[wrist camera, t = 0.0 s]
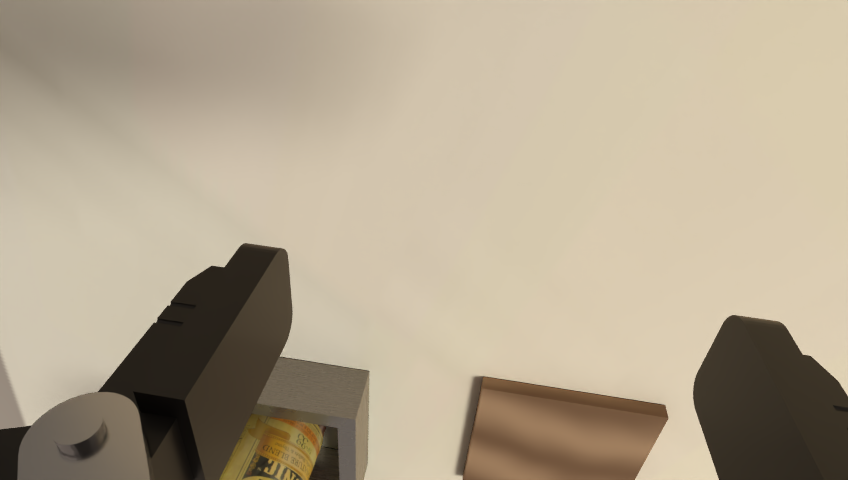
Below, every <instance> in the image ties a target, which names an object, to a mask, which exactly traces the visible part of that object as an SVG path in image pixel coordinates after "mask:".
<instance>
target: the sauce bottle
mask: <svg viewBox="0 0 848 480" xmlns="http://www.w3.org/2000/svg"><path fill="white" fill-rule="evenodd" d="M325 429H326V426H323V425H317V424H311V423H305V422H299V421H293V420H287V419H281V418H275V417H269V416H263V415H257V414H251V416H250V418H249V420H248V422H247V424H246V426H245V428H244V430H243V432H242V434H241V436H240V438H239V440H238V442H237V444H236V446H235V448H234V450H233V453H232V455H231V457H230V459H229V461H228V463H227V465H226V467H225V469H224V471H223V473H222V475H221V477H220V479H219V480H309V478H310V475H311V472H312V470H313V467H314V464H315V461H316V459H317V456H318V453H319V451H320V448H321V446H322V442H323V435H324V432H325Z"/></svg>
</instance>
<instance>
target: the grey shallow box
mask: <svg viewBox="0 0 848 480" xmlns="http://www.w3.org/2000/svg"><path fill="white" fill-rule="evenodd" d="M252 414H257V415H263V416H269V417H275V418H281V419H287V420H293V421H299V422H305V423H311V424H317V425H323V426H329V427H335V428H338V450H336V449H330V448H324V447H321V448H320V451H319V453H318V456H317V459H316V461H315V464H314V467H313V470H312V472H311V475H310V478H309V480H364V476H365V472H366V468H367V464H368V416H369V371H364V370H358V369H351V368H345V367H339V366H333V365H326V364H320V363H314V362H308V361H301V360H295V359H289V358H282V357H279V358H278V360H277V362H276V364H275V367H274V369H273V371H272V373H271V375H270V377H269V379H268V381H267V383H266V385H265V387H264V389H263V391H262V393H261V395H260V397H259V399H258V401H257V403H256V405H255V407H254V410H253V412H252Z"/></svg>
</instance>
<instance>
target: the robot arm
mask: <svg viewBox="0 0 848 480" xmlns="http://www.w3.org/2000/svg"><path fill="white" fill-rule="evenodd" d="M157 319H158V320H157V323H153V324H152V326H151V327H150V328H149V329H148V331H147V332H146V333H145V334H144V336H143V337H142V338H141V339H140V341H139V342H138V343H137V344H136V346H135V347H134V348H133V349H132V351H131V352H130V353H129V354H128V355H127V357H126V358H125V359H124V360H123V362H122V363H121V364H120V365H119V367H118V368H117V369H116V370H115V372H114V373H113V374H112V375H111V377H110V378H109V379H108V380H107V382H106V383H105V384H104V385H103V387H102V388H101V389H100V390H99V391H98V392H95V393H88V394H84V395H80V396H77V397H74V398H71V399H69V400H67V401H65V402H62V403H60V404H58V405H57V406H55V407H53V408H52V409H50V410H49V411H48V412H46V413H45V414H44V415H42V416H41V417H40V418H39V419H38V420H37V421H36V422H35V423H34V424H33V425H32V426H26V427H18V428H9V429H1V430H0V480H219V479H220V477H221V475H222V473H223V471H224V469H225V467H226V465H227V463H228V461H229V459H230V457H231V455H232V453H233V450H234V448H235V446H236V444H237V442H238V440H239V438H240V436H241V434H242V432H243V430H244V428H245V426H246V424H247V422H248V420H249V418H250V416H251V414H252V412H253V410H254V407H255V405H256V403H257V401H258V399H259V397H260V395H261V393H262V391H263V389H264V387H265V385H266V383H267V381H268V379H269V377H270V375H271V373H272V371H273V369H274V367H275V364H276V362H277V360H278V358H279V356H280V354H281V352H282V350H283V348H284V346H285V344H286V342H287V339H288V336H289V333H290V328H291V323H292V299H291V287H290V275H289V262H288V255H287V252H286V250H285V249H282V248H275V247H268V246H261V245H254V244H248V243H245V244H242V245H241V246H240V247H239V249H238V250H237V251H236V253H235V254H234V255H233V257H232V258H231V259H230V261H229V262H228V263H227V265H226V266H225V267H217V266H211V267H209V268H208V269H206V270H204V271H203V272H201V273H200V274H198V275H197V276H195V277H193V278H192V279H190V280H189V281H187V282H186V283H185V285H184V286H183V287H182V288H181V290H180V291H179V292H178V293H177V295H176V296H175V297H174V298H173V300H172V301H171V305H170V306H167V307H166V308H165V310H164V311H163V312H162V313H161V315H160V316H159V317H158V318H157ZM693 399H694V406H695V410H696V413H697V416H698V419H699V422H700V425H701V428H702V431H703V433H704V436H705V439H706V442H707V445H708V448H709V451H710V454H711V457H712V460H713V463H714V466H715V469H716V472H717V475H718V478H719V480H848V396H847V394H846V393H845V391H844V390H843V388H842V387H841V385H840V383H839V382H838V381H837V380H836V379H835V378H834V377H833V376H832V375H831V374H830V373H829V372H827V371H826V370H825V369H824V368H823V367H822V366H821V365H820V364H819V363H818V362H817V361H815V360H814V359H813V358H812V357H811V356H808V355H802V353H801V351H800V350H799V348H798V346H797V345H796V343H795V341H794V340H793V338H792V336H791V335H790V333H789V331H788V330H787V328H786V327H785V326H784V325H783V324H782V323H780V322H778V321H772V320H765V319H758V318H751V317H744V316H737V315H732V316H729V317H728V318H727V319H726V320H725V321H724V323H723V325H722V327H721V328H720V330H719V332H718V334H717V336H716V338H715V340H714V342H713V344H712V346H711V348H710V350H709V352H708V353H707V355H706V357H705V359H704V361H703V363H702V365H701V367H700V369H699V371H698V373H697V375H696V378H695V382H694V390H693Z"/></svg>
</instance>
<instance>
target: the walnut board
mask: <svg viewBox="0 0 848 480" xmlns="http://www.w3.org/2000/svg"><path fill="white" fill-rule="evenodd" d="M667 420H668V415H667V411H666V407H665V405H660V404H653V403H647V402H641V401H634V400H628V399H622V398H615V397H609V396H603V395H596V394H590V393H584V392H577V391H571V390H565V389H558V388H552V387H546V386H539V385H533V384H526V383H520V382H514V381H507V380H501V379H495V378H488V377H483V380H482V385H481V390H480V395H479V400H478V405H477V409H476V414H475V419H474V424H473V429H472V434H471V439H470V443H469V448H468V453H467V458H466V463H465V468H464V473H463V480H635V478H636V476H637V474H638V473H639V471H640V469H641V467H642V465H643V464H644V462H645V460H646V458H647V456H648V454H649V453H650V451H651V449H652V447H653V445H654V444H655V442H656V440H657V438H658V436H659V434H660V433H661V431H662V429H663V427H664V425H665V424H666V422H667Z"/></svg>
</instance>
